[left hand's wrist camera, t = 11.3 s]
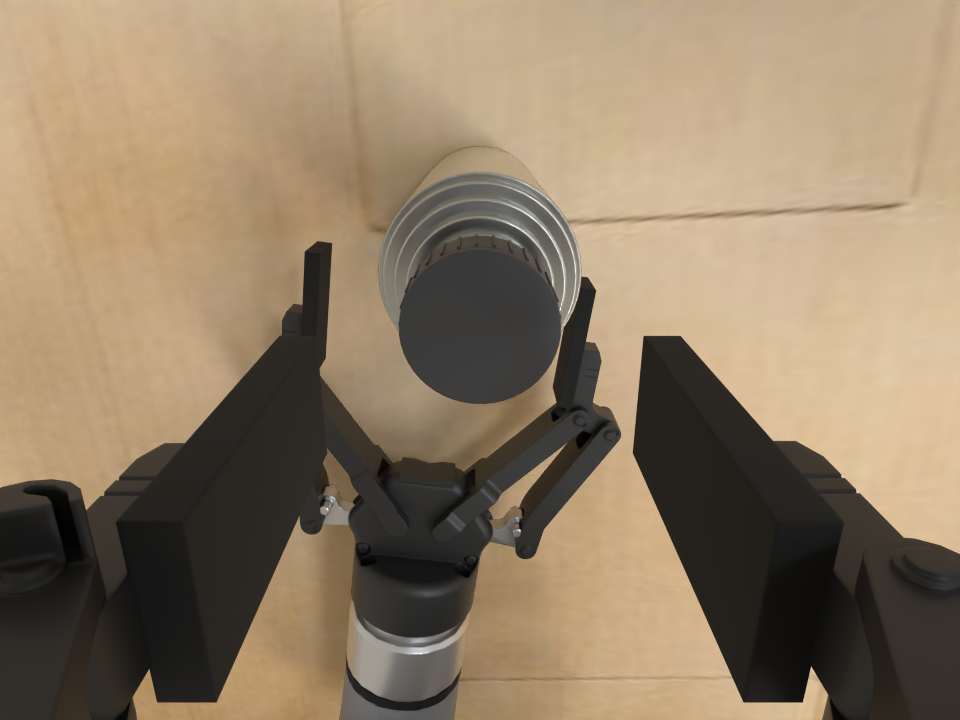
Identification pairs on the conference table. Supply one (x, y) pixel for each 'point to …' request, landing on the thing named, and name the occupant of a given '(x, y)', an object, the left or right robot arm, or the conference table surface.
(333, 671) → the conference table surface
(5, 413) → the conference table surface
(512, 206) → the bottle
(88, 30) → the conference table surface
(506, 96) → the conference table surface
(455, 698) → the right robot arm
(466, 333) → the cap
